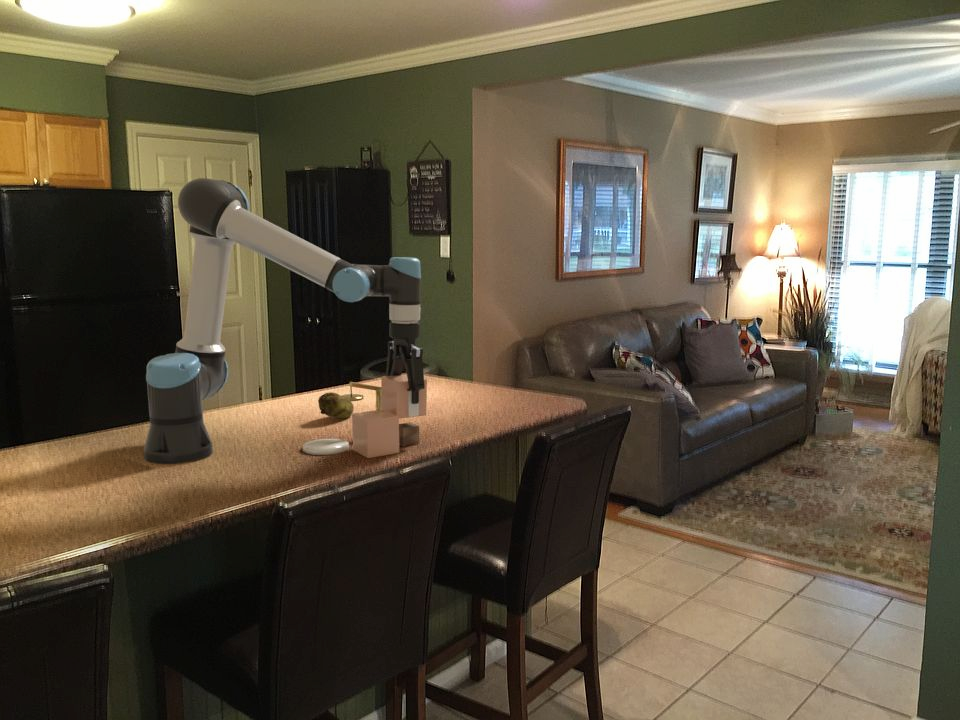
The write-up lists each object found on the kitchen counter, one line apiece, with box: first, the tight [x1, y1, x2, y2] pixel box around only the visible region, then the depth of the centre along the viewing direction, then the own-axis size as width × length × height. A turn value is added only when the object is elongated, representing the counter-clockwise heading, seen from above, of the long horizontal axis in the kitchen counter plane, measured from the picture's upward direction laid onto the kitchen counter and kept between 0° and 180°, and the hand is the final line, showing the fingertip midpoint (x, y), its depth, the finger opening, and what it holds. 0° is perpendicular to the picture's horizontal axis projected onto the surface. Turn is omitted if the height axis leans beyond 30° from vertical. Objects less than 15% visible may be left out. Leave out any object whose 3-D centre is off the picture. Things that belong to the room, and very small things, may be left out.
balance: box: [339, 381, 381, 410], centre depth 207 cm, size 21×6×15 cm, turn 124°
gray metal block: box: [399, 422, 420, 447], centre depth 200 cm, size 4×4×4 cm
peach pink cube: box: [380, 373, 428, 420], centre depth 198 cm, size 8×8×9 cm
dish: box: [302, 438, 350, 456], centre depth 195 cm, size 11×11×1 cm
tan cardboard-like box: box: [351, 409, 400, 459], centre depth 192 cm, size 8×8×9 cm
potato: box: [317, 392, 354, 420], centre depth 225 cm, size 8×13×8 cm, turn 140°
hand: (404, 412), depth 199 cm, fingers closed on peach pink cube, 8 cm apart
